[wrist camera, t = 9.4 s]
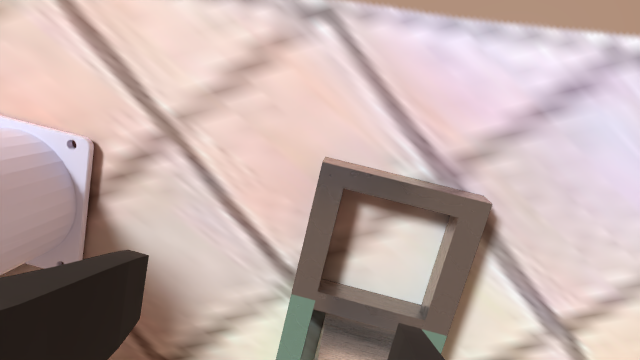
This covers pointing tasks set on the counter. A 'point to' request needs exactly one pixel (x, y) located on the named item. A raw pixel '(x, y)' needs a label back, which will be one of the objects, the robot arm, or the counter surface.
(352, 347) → the beige rectangular block
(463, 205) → the grey teal tray
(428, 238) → the counter surface
